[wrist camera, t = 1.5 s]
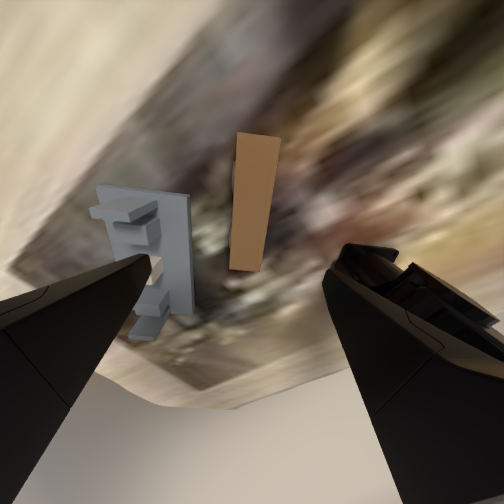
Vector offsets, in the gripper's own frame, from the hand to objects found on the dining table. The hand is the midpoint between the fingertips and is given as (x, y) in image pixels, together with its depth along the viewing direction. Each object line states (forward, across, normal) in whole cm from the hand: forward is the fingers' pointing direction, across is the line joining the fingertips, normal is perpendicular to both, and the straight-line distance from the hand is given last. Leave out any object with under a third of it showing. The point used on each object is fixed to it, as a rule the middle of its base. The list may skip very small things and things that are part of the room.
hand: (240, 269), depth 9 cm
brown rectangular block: (+12, -1, 0) cm, 12 cm away
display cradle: (+12, +11, +8) cm, 18 cm away
